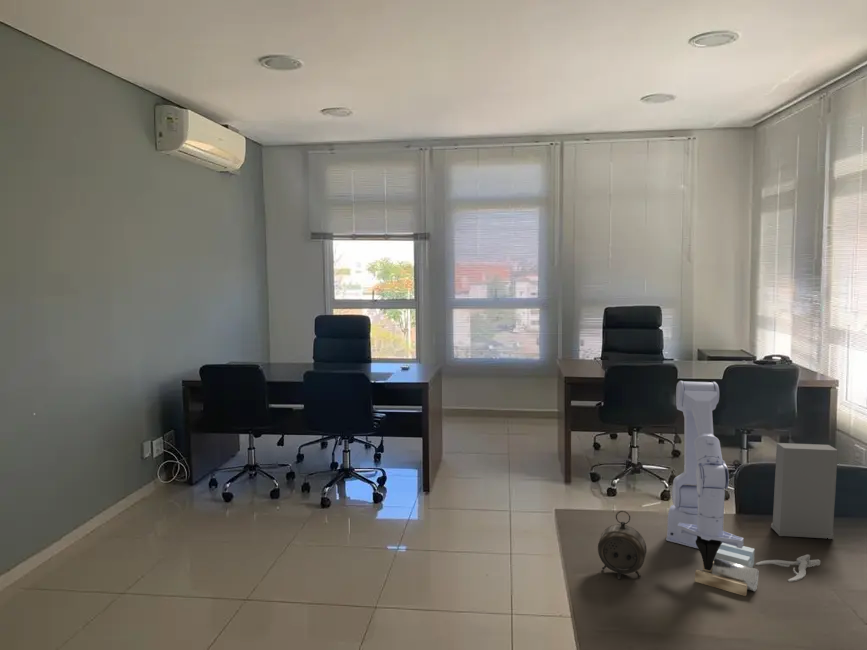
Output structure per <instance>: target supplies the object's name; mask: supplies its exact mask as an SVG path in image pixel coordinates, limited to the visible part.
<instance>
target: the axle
mask: <svg viewBox="0 0 867 650" xmlns="http://www.w3.org/2000/svg"><path fill="white" fill-rule="evenodd" d="M759 573H760V571H759V569H758V568H755V567H754V566H753V567H749V566H745V565H741V564H737V563H734V562H730V561H726V560H722V559H719V558H715V560H714V563H713V568H712V573H711V574H715V575H718V576H722V577H725V578H729V579H733V580H736V581H740V582H743V583H747V591H748V590H749V591H753V592H756V591H757V588H758V584H759V577H760V576H759Z"/></svg>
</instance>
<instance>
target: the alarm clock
mask: <svg viewBox="0 0 867 650" xmlns="http://www.w3.org/2000/svg"><path fill="white" fill-rule="evenodd" d="M620 513H625V514H626V515H627V516H628V521H627V522H625V521H619V520H618V515H619V514H620ZM615 519H616V521H617V523H619V524H613V525H610V526H608V527H606V528H605V529H604V530H603V531H602V532H601V534H600V535H601V536H600V538H599V541H598V544H597V545H598V546H597V552H598V556H599V558H600V561H601V562H602V563H603V565H604V566H603V567H601V569H602V570H605V569H606V568H608V569H609V570H611V571H612V572H614V573H616V574H617V579H618V580H620V579H621V578H622V575H629V574H630V575H631V574H633V573H635V575H637V577H638V578H641V574H640V573H639V570H640V569H641V568H642V567H643V565H644V563H645V559H646V555H647V544H646V541H645V539H644V536H642V534H641V533H640V532H639V531H638V530H637V529H635V528H633V527H632V526H630V525H627V524H628V523H630V521H631V515H630V513H628V512H627V511H626V510H619V511H617V513H615Z"/></svg>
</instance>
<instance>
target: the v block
mask: <svg viewBox="0 0 867 650" xmlns="http://www.w3.org/2000/svg"><path fill="white" fill-rule="evenodd" d="M755 551H756V549H755V548H753V547H749V546H745V545H743V547H742V549H741V548H737V546H733V545H729V544H725V543H722V544H721V546H720V547H719V549H718V551H717V553H716V556H715V558H719V559H722V560H726V561H730V562H734V563H737V564H741V565H745V566H749V567H753V568H754V565H755ZM715 558H714V560H715Z"/></svg>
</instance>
